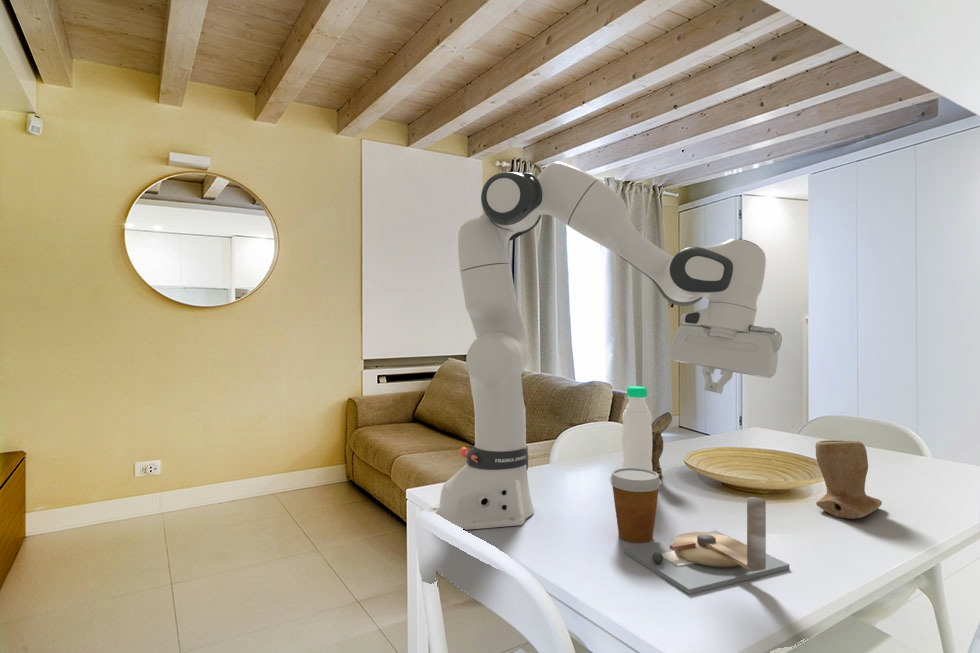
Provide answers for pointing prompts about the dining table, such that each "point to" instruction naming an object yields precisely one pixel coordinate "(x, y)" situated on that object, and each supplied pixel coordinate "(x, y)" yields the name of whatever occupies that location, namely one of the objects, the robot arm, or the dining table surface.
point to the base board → (695, 567)
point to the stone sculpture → (659, 440)
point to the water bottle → (637, 430)
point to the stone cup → (844, 478)
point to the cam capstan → (729, 543)
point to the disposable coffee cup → (635, 502)
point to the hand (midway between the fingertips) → (712, 391)
